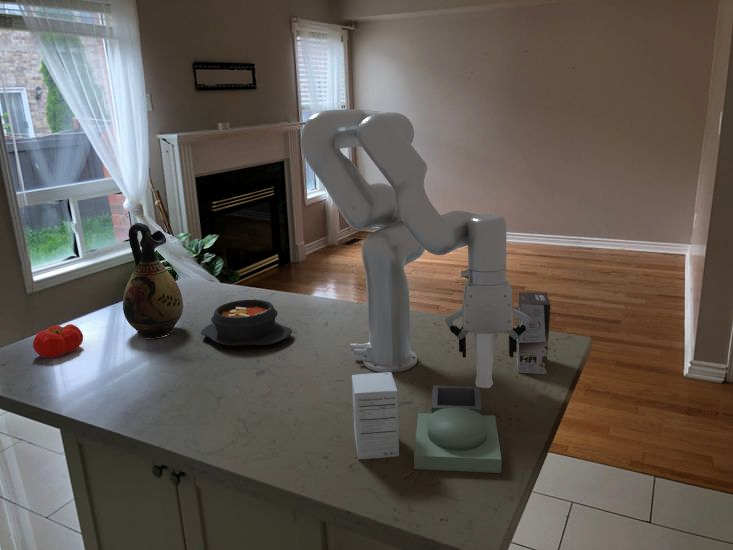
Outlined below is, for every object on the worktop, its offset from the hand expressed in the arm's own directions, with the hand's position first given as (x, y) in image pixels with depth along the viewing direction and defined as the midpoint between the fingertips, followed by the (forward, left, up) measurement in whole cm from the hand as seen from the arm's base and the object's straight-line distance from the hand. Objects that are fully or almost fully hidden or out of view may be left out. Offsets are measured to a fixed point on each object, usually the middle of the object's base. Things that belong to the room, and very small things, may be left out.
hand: (487, 355), depth 125 cm
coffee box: (+10, +10, -7) cm, 16 cm away
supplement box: (-21, -26, -7) cm, 34 cm away
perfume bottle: (-1, 0, -7) cm, 7 cm away
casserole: (-61, +23, -7) cm, 65 cm away
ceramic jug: (-88, +26, -7) cm, 92 cm away
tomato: (-106, +11, -7) cm, 106 cm away
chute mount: (-7, -20, -7) cm, 22 cm away
